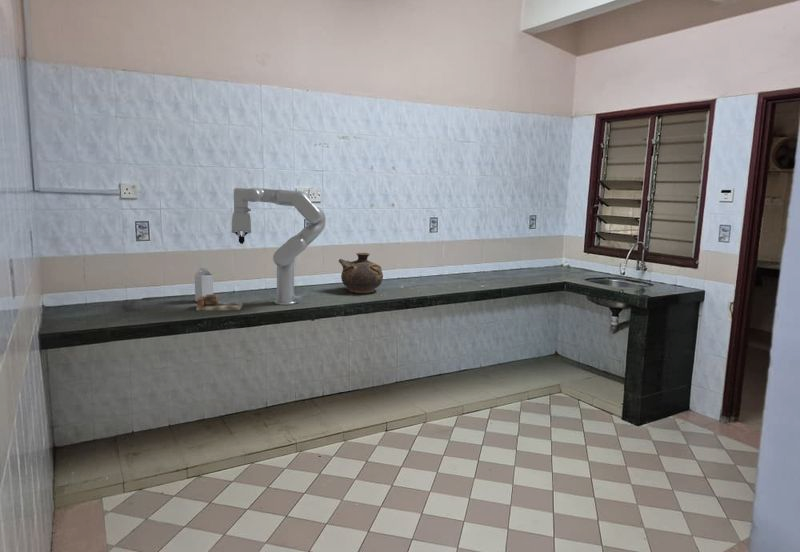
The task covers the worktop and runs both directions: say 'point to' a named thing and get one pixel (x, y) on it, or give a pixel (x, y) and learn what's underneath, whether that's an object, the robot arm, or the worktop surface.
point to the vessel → (361, 274)
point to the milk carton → (203, 283)
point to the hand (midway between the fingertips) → (241, 243)
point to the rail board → (219, 305)
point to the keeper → (211, 299)
